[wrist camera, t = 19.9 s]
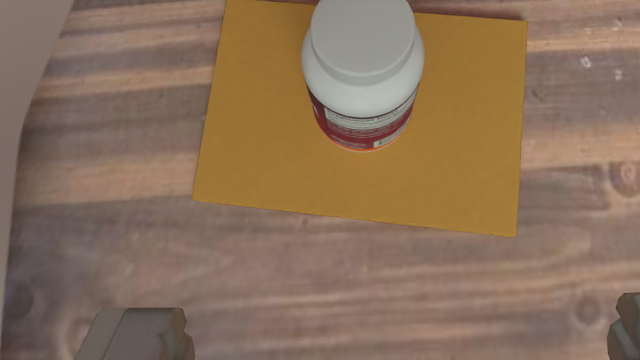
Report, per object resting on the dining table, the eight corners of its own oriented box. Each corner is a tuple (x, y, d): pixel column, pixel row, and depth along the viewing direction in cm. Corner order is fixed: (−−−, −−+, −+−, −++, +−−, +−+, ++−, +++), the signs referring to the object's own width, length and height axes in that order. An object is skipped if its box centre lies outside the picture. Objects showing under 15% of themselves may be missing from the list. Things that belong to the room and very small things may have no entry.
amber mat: (195, 200, 35) (191, 198, 34) (229, 3, 38) (226, -3, 37) (512, 237, 33) (516, 235, 32) (524, 26, 36) (528, 20, 35)
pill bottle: (325, 55, 36) (310, -49, 25) (419, 72, 35) (445, -28, 24) (304, 145, 34) (278, 76, 24) (400, 164, 34) (419, 102, 23)
